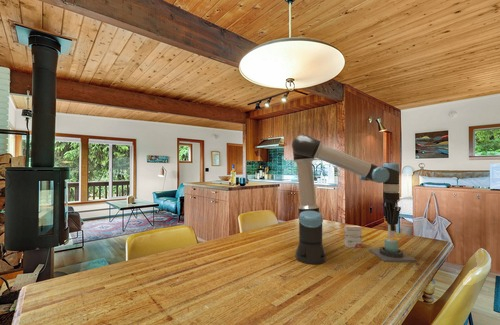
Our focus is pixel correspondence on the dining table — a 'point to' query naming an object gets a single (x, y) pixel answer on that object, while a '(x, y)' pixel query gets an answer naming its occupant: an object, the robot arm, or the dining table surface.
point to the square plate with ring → (392, 255)
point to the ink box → (353, 236)
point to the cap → (391, 245)
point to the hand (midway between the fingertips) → (391, 236)
